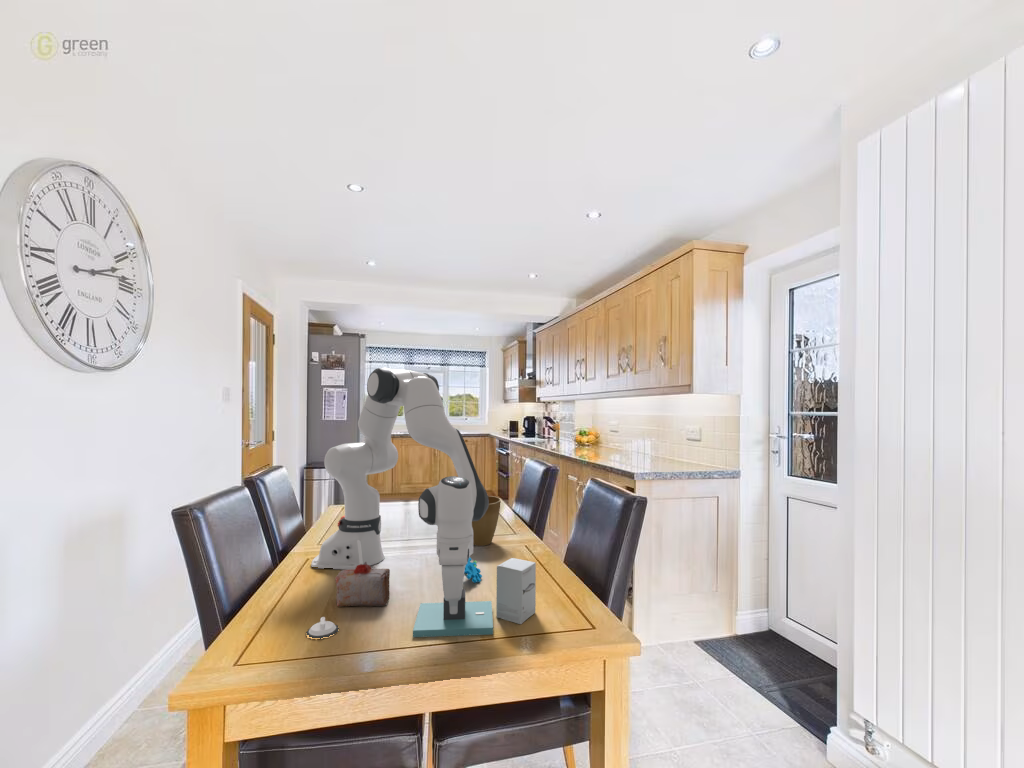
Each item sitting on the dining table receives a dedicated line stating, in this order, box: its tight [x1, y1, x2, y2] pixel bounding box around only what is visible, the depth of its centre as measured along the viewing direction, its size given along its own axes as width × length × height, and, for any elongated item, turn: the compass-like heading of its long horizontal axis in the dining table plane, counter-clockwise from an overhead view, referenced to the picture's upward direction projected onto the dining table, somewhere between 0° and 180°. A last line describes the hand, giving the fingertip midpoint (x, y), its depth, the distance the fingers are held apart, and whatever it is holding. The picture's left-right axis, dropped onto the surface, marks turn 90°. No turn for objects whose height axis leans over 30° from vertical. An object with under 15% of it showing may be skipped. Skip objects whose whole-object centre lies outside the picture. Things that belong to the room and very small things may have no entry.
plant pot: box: [472, 495, 502, 547], centre depth 173 cm, size 15×15×16 cm
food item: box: [334, 562, 391, 607], centre depth 122 cm, size 14×8×10 cm, turn 92°
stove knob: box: [305, 616, 340, 639], centre depth 107 cm, size 7×7×3 cm
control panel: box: [412, 600, 494, 638], centre depth 112 cm, size 18×14×4 cm
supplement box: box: [495, 557, 537, 625], centre depth 115 cm, size 7×7×13 cm
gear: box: [464, 556, 483, 584], centre depth 138 cm, size 11×6×10 cm
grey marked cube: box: [443, 588, 467, 620], centre depth 112 cm, size 5×5×5 cm
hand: (454, 603), depth 112 cm, fingers open, 8 cm apart
